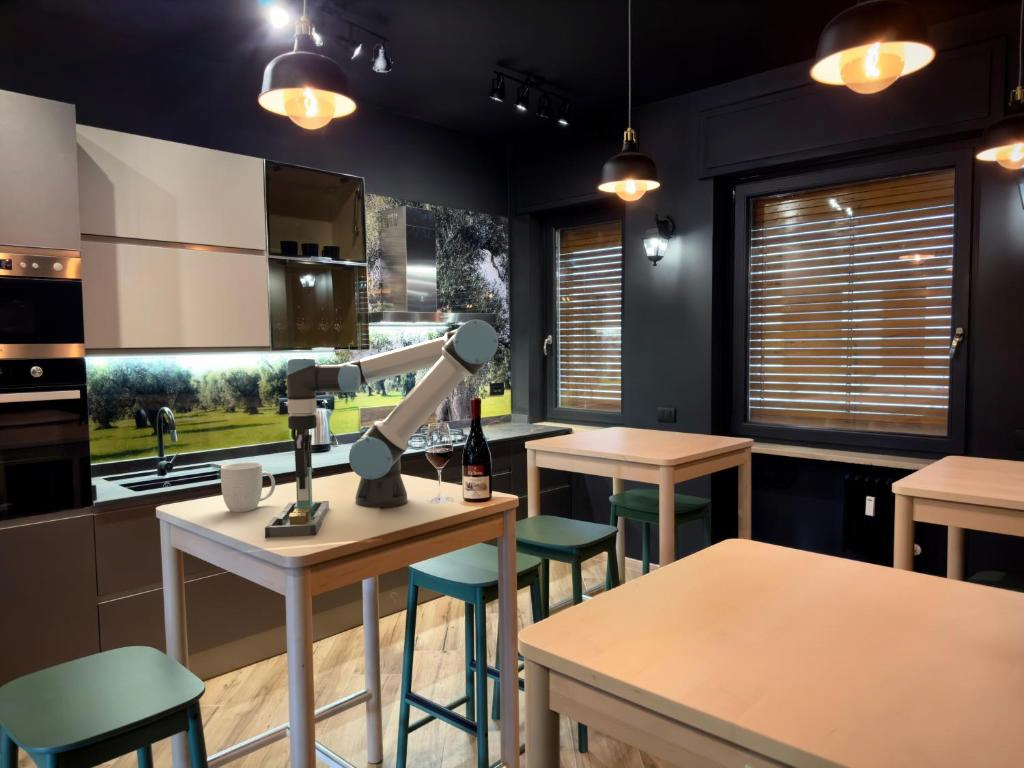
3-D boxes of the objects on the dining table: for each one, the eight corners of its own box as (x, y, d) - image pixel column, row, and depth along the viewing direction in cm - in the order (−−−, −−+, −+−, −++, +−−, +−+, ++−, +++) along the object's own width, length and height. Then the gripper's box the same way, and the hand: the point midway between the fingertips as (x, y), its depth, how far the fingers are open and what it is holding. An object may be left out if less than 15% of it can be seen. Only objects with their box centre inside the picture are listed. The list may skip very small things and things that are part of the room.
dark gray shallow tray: (328, 509, 197) (328, 501, 197) (319, 526, 179) (319, 516, 179) (289, 511, 196) (288, 502, 195) (275, 528, 178) (275, 518, 178)
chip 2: (311, 516, 187) (310, 507, 187) (308, 520, 183) (308, 511, 183) (295, 517, 187) (295, 508, 186) (293, 521, 183) (292, 512, 182)
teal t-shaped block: (315, 508, 193) (314, 466, 193) (312, 513, 188) (311, 469, 188) (297, 509, 193) (296, 466, 192) (293, 513, 188) (292, 470, 187)
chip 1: (306, 521, 183) (305, 511, 183) (305, 524, 179) (305, 515, 179) (290, 522, 182) (290, 513, 182) (289, 526, 178) (289, 516, 178)
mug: (268, 502, 207) (267, 459, 207) (282, 508, 199) (280, 463, 198) (217, 510, 198) (215, 465, 197) (229, 517, 190) (227, 470, 189)
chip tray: (321, 526, 179) (321, 514, 179) (315, 537, 169) (315, 525, 169) (273, 528, 178) (273, 517, 178) (265, 539, 168) (264, 527, 168)
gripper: (294, 411, 197) (296, 492, 198) (281, 417, 180) (284, 506, 182) (321, 410, 197) (323, 491, 199) (311, 417, 181) (313, 505, 183)
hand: (304, 498), depth 190 cm, fingers closed on teal t-shaped block, 3 cm apart
